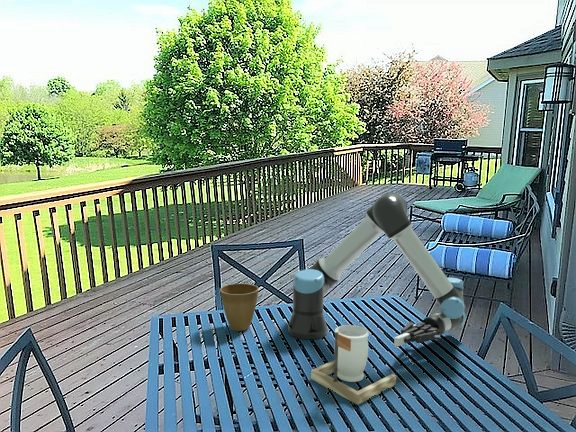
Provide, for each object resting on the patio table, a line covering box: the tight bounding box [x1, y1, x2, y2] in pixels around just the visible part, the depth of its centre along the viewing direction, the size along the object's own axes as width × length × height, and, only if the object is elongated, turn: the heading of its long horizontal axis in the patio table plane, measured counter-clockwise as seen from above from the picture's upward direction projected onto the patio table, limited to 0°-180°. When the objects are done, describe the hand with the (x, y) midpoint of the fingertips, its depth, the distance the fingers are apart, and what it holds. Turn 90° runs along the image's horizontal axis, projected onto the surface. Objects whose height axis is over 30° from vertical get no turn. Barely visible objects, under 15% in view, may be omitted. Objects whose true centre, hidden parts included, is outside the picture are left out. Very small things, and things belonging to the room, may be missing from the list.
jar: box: [333, 324, 370, 383], centre depth 147 cm, size 11×10×15 cm
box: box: [310, 331, 397, 406], centre depth 143 cm, size 18×19×18 cm
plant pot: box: [219, 283, 260, 332], centre depth 185 cm, size 15×15×16 cm
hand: (396, 342), depth 157 cm, fingers closed
